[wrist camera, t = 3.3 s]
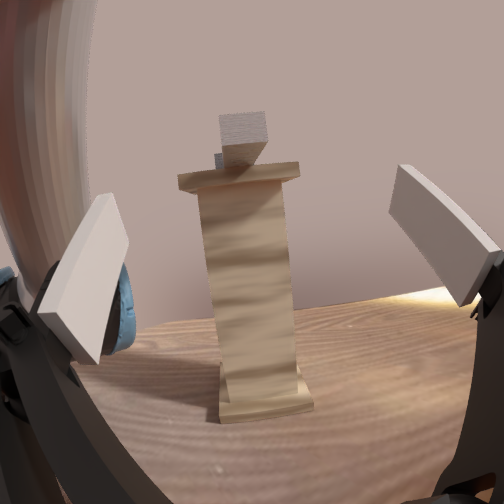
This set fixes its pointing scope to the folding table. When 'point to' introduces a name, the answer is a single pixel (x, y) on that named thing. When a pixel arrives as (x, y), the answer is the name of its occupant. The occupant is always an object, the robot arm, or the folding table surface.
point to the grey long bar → (241, 139)
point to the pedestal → (250, 289)
